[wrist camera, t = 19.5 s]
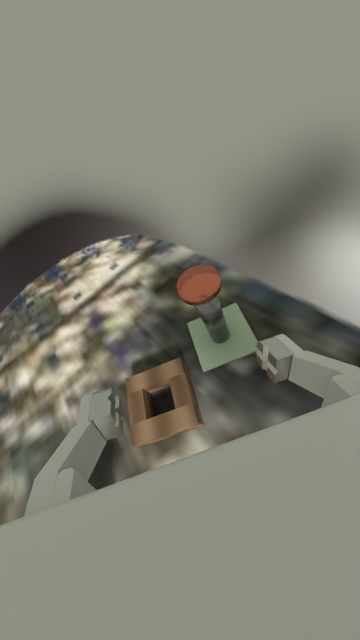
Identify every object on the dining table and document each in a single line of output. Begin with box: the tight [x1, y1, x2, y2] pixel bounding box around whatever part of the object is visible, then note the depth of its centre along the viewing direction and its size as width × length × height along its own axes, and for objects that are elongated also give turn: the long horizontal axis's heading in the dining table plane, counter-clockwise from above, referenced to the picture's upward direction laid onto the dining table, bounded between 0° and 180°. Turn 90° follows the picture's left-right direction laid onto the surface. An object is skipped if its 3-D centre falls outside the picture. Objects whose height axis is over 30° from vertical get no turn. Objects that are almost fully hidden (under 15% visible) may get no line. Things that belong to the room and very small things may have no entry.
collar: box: [126, 357, 204, 446], centre depth 39 cm, size 12×12×4 cm
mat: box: [187, 303, 258, 372], centre depth 44 cm, size 12×12×1 cm
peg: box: [176, 264, 230, 343], centre depth 37 cm, size 6×6×17 cm
